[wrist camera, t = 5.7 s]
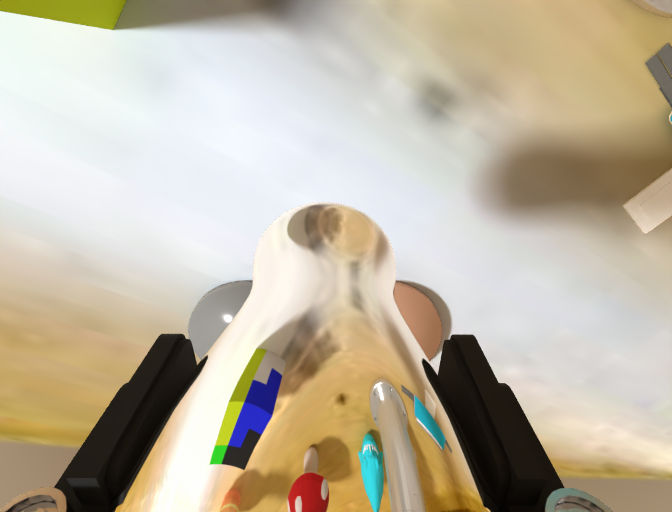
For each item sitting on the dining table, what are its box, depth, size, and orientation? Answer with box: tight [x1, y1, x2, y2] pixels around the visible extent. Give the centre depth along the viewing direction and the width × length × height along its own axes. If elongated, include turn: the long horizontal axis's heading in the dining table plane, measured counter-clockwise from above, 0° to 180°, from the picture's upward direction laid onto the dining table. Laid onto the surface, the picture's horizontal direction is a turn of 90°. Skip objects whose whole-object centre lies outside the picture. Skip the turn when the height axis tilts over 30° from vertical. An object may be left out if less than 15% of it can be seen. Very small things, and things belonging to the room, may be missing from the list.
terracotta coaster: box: [395, 282, 442, 361], centre depth 34 cm, size 11×11×1 cm
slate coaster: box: [188, 281, 252, 360], centre depth 34 cm, size 11×11×1 cm
